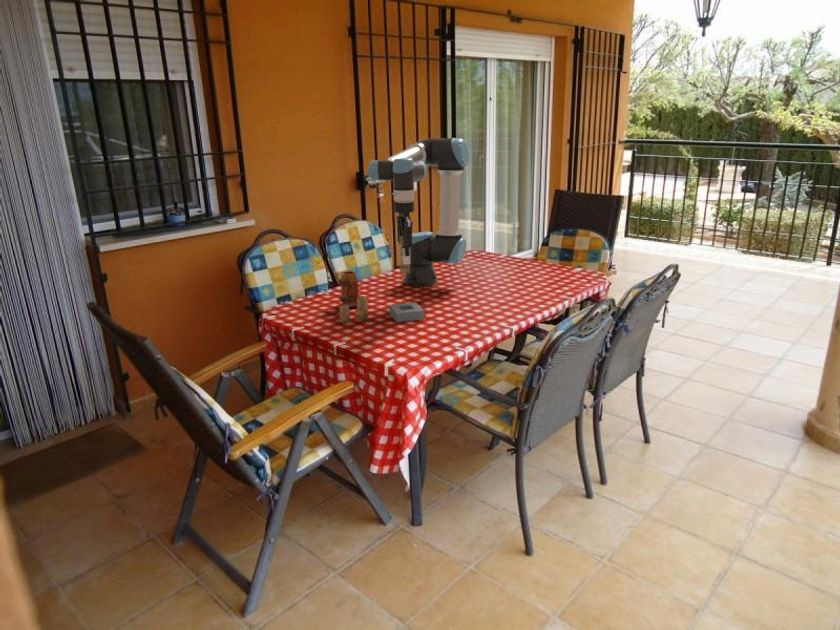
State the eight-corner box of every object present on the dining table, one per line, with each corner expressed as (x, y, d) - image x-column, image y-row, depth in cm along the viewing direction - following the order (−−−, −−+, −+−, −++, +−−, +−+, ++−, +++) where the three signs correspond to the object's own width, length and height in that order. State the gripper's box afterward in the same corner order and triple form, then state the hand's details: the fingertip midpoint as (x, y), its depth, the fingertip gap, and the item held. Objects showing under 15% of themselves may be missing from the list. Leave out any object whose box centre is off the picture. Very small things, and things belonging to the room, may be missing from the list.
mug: (337, 303, 262) (335, 268, 257) (356, 301, 265) (355, 267, 260) (346, 314, 249) (344, 277, 244) (366, 311, 252) (364, 275, 247)
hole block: (415, 310, 252) (415, 302, 251) (423, 319, 242) (423, 310, 241) (389, 313, 249) (388, 304, 248) (396, 322, 239) (396, 313, 238)
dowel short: (348, 319, 243) (347, 304, 241) (350, 322, 239) (349, 307, 237) (339, 320, 242) (338, 305, 240) (341, 323, 238) (340, 308, 236)
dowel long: (408, 270, 242) (407, 235, 237) (411, 273, 239) (410, 236, 234) (399, 271, 241) (398, 235, 236) (401, 273, 237) (401, 237, 233)
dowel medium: (366, 317, 245) (365, 295, 242) (368, 320, 241) (367, 298, 238) (357, 318, 244) (356, 296, 241) (359, 321, 240) (358, 299, 237)
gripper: (388, 198, 237) (389, 258, 245) (400, 205, 222) (401, 268, 230) (407, 197, 239) (408, 257, 247) (420, 203, 224) (421, 267, 232)
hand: (405, 262), depth 238 cm, fingers closed on dowel long, 3 cm apart
